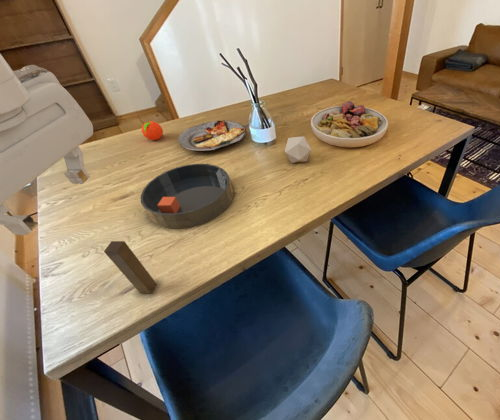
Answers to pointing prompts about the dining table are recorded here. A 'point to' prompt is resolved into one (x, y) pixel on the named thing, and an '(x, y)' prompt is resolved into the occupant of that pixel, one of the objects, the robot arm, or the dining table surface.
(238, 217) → the dining table surface
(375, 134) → the bowl
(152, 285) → the stick
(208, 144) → the food plate
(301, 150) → the die
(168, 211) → the block
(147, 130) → the clementine
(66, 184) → the dining table surface
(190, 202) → the bowl
